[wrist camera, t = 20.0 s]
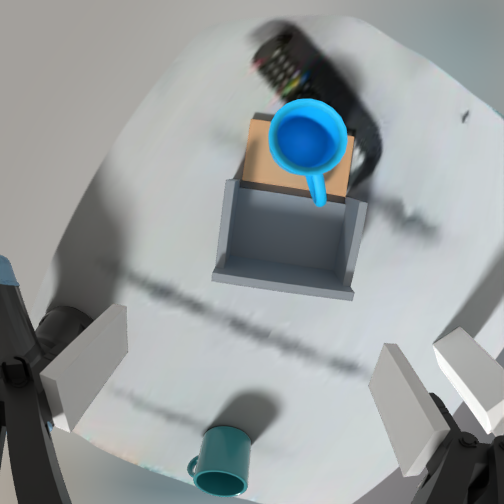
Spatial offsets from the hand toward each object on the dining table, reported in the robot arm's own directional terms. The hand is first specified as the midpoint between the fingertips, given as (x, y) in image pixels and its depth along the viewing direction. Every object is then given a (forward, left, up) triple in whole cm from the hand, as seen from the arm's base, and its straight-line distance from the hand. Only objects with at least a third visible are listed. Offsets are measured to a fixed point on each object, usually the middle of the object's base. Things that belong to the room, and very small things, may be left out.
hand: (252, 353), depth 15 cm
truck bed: (+3, +1, -29) cm, 29 cm away
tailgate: (+3, +7, -28) cm, 29 cm away
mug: (+4, +11, -28) cm, 30 cm away
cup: (-2, -40, -29) cm, 49 cm away
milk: (+35, -14, -29) cm, 47 cm away
